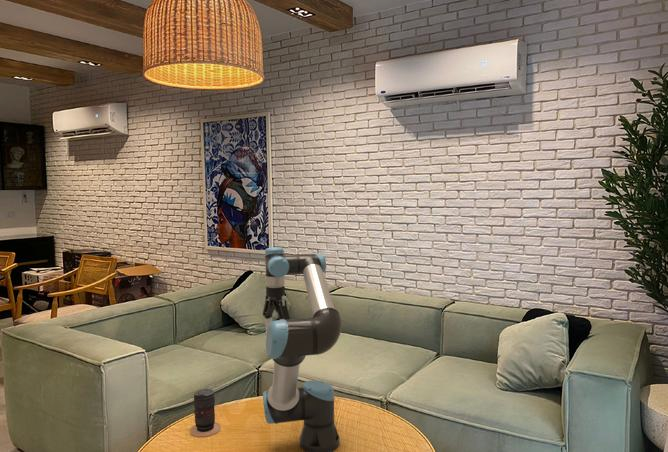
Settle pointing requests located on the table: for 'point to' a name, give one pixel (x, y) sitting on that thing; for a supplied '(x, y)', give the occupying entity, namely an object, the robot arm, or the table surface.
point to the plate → (205, 434)
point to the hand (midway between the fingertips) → (276, 337)
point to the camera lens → (204, 409)
